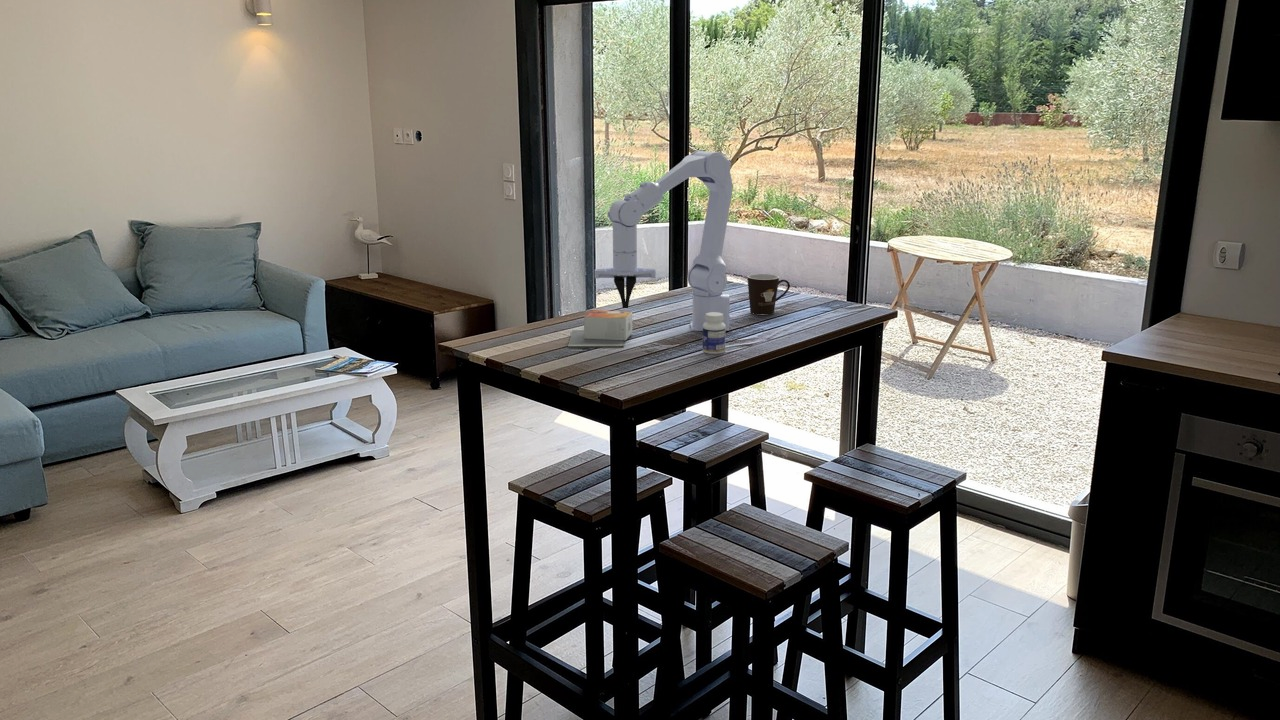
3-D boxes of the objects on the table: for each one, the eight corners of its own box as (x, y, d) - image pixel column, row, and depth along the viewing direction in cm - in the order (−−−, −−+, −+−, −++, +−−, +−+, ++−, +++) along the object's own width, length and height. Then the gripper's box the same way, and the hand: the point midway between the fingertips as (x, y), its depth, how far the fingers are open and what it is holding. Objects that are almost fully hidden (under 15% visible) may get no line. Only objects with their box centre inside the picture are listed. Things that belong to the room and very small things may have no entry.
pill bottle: (702, 348, 216) (702, 311, 214) (724, 348, 216) (725, 311, 214) (702, 354, 211) (703, 316, 209) (725, 354, 211) (726, 316, 209)
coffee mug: (746, 315, 249) (747, 279, 246) (746, 309, 257) (747, 273, 254) (789, 316, 248) (791, 280, 245) (788, 309, 256) (790, 274, 253)
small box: (626, 318, 220) (583, 316, 222) (626, 341, 222) (583, 339, 224) (632, 311, 228) (591, 309, 230) (632, 333, 230) (591, 331, 231)
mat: (624, 331, 233) (624, 329, 233) (623, 347, 218) (623, 345, 217) (572, 331, 233) (572, 329, 233) (568, 347, 218) (568, 345, 217)
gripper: (593, 254, 216) (594, 311, 219) (655, 253, 216) (655, 310, 219) (594, 249, 222) (595, 304, 226) (655, 249, 222) (655, 304, 226)
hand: (625, 307), depth 223 cm, fingers closed
